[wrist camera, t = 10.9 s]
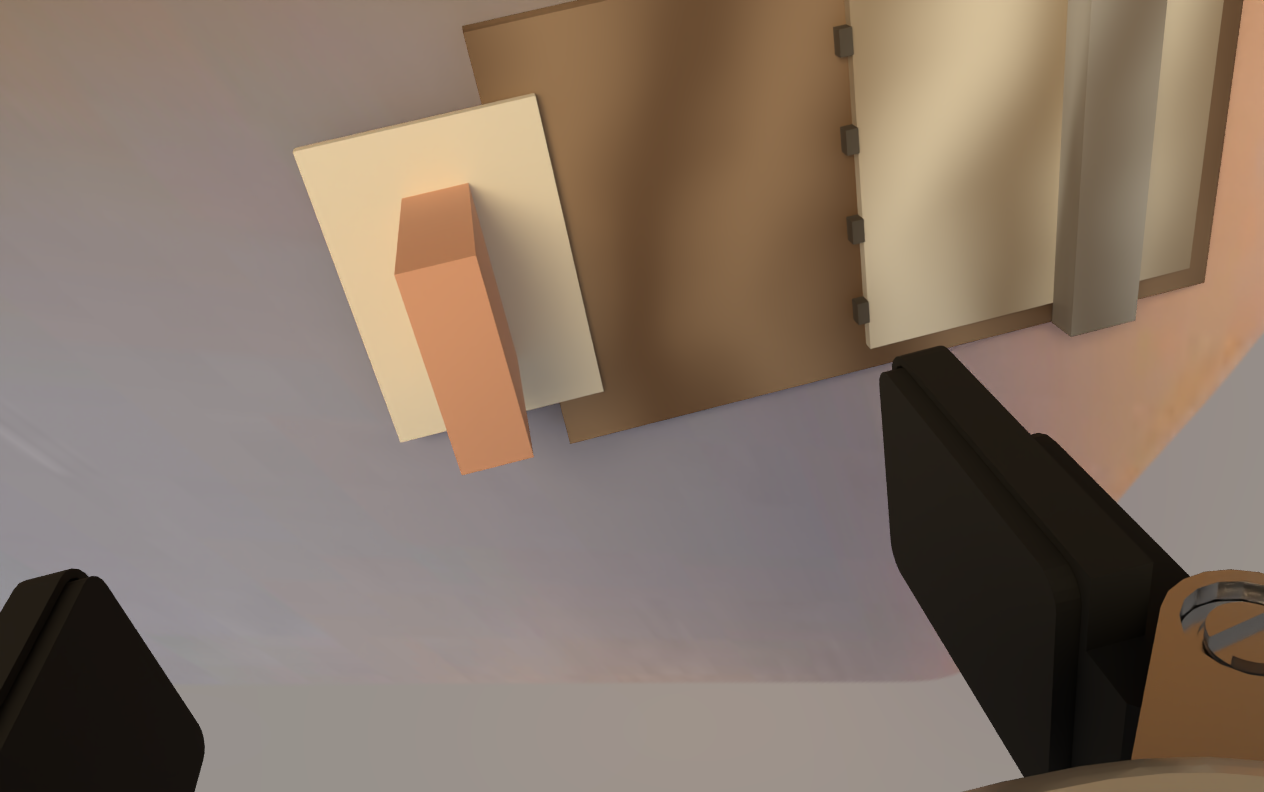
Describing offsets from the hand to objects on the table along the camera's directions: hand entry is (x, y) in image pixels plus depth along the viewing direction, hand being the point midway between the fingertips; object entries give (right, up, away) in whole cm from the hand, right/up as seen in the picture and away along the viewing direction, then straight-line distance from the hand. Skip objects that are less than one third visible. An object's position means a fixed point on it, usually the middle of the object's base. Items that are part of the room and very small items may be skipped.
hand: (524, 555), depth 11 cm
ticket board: (+9, +10, +21) cm, 25 cm away
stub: (-4, +6, +19) cm, 20 cm away
